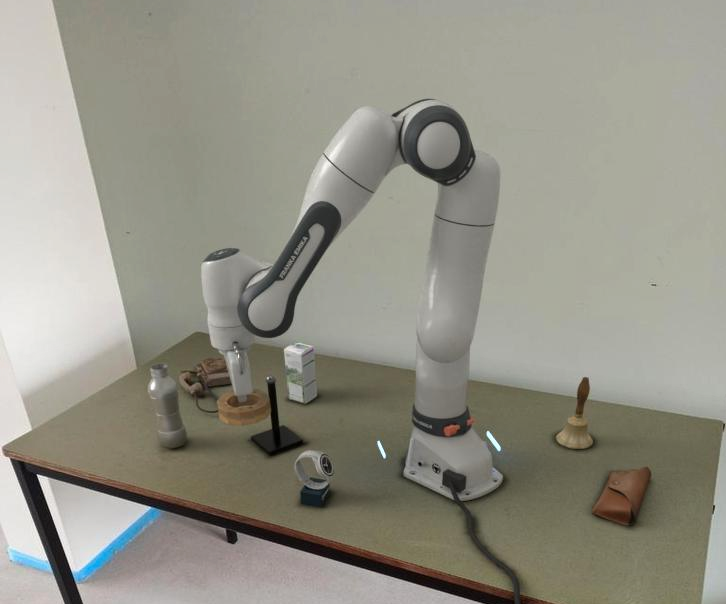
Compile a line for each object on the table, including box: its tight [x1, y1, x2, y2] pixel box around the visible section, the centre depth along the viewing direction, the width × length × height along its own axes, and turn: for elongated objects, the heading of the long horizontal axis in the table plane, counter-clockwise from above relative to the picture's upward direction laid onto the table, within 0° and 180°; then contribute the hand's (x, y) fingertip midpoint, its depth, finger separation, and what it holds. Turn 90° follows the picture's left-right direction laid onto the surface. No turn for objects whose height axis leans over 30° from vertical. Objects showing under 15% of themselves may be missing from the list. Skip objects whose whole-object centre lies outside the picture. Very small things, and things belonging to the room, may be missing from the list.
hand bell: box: [555, 376, 594, 450], centre depth 153 cm, size 8×8×16 cm
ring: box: [216, 388, 271, 427], centre depth 137 cm, size 11×11×3 cm
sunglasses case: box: [591, 466, 652, 527], centre depth 136 cm, size 18×7×7 cm
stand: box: [250, 374, 304, 457], centre depth 154 cm, size 9×9×17 cm
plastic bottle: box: [147, 362, 188, 449], centre depth 153 cm, size 6×7×20 cm
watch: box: [293, 449, 335, 509], centre depth 136 cm, size 6×8×11 cm
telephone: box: [178, 357, 232, 414], centre depth 182 cm, size 15×33×4 cm, turn 23°
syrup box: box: [283, 341, 318, 405], centre depth 174 cm, size 6×6×14 cm
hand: (241, 396), depth 140 cm, fingers closed on ring, 2 cm apart
